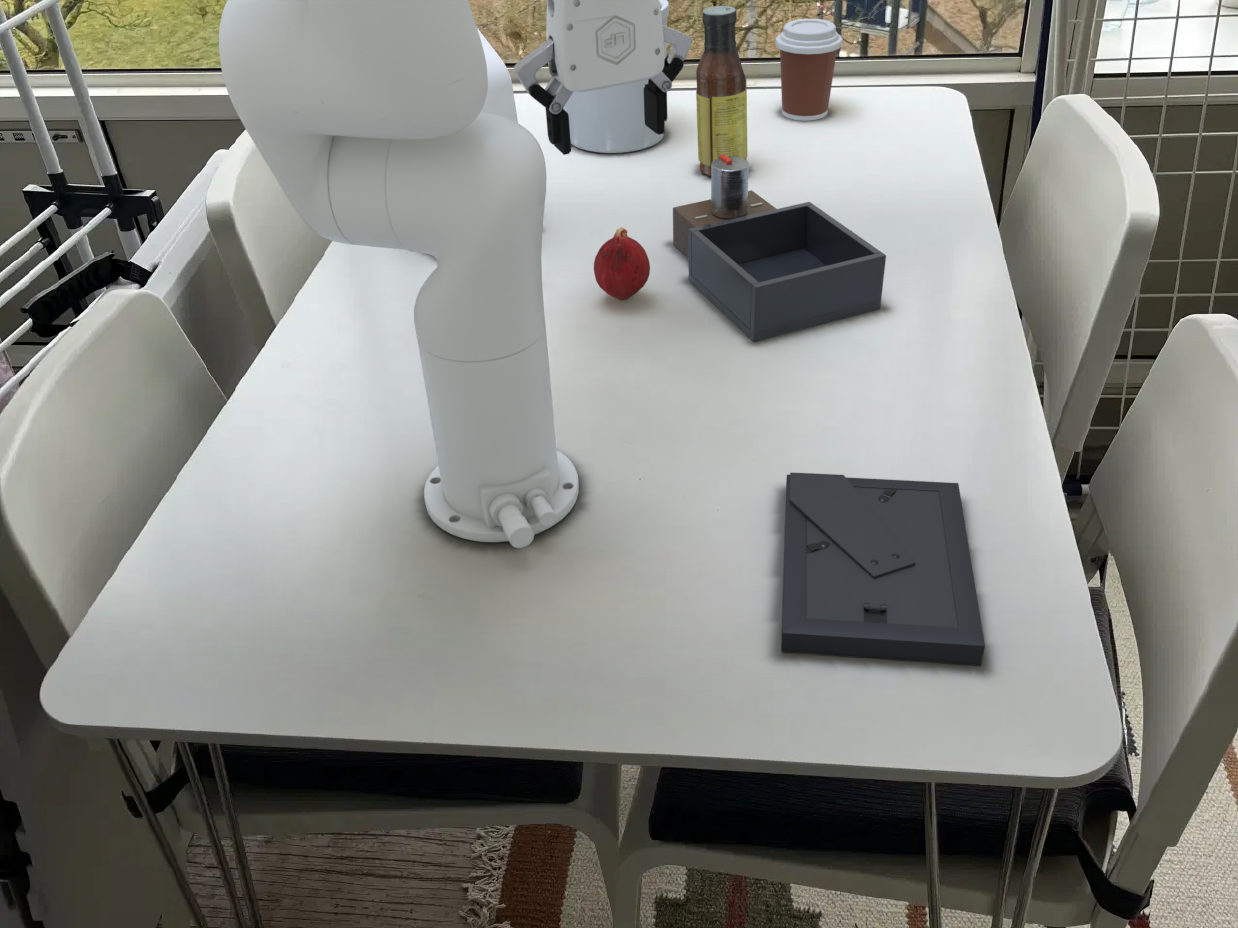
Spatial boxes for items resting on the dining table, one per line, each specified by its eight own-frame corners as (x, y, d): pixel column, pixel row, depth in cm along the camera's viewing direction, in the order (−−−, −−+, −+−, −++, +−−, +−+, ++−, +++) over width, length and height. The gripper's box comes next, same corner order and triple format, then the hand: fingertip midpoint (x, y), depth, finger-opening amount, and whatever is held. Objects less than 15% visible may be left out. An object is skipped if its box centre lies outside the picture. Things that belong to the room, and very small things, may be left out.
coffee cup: (770, 123, 159) (774, 35, 151) (774, 101, 166) (777, 16, 159) (836, 124, 157) (843, 36, 150) (837, 102, 164) (844, 16, 157)
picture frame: (785, 492, 92) (780, 652, 78) (786, 470, 91) (782, 629, 77) (955, 501, 90) (981, 666, 76) (958, 479, 89) (986, 642, 75)
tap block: (785, 254, 126) (787, 215, 123) (705, 273, 123) (705, 234, 120) (750, 226, 132) (751, 188, 130) (672, 244, 129) (672, 205, 127)
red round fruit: (645, 315, 116) (643, 243, 112) (590, 312, 117) (585, 240, 113) (654, 288, 121) (653, 218, 116) (601, 285, 122) (598, 216, 117)
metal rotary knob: (753, 214, 124) (755, 163, 121) (721, 221, 123) (722, 170, 120) (736, 201, 127) (737, 151, 124) (704, 208, 126) (704, 158, 122)
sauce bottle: (755, 166, 147) (760, 6, 135) (732, 183, 142) (735, 19, 131) (710, 157, 149) (711, 0, 138) (687, 174, 145) (686, 13, 133)
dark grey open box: (880, 309, 115) (886, 255, 112) (753, 342, 111) (755, 287, 108) (806, 252, 126) (809, 201, 123) (688, 280, 122) (688, 228, 119)
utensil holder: (604, 110, 166) (598, -17, 155) (690, 128, 158) (690, -4, 148) (541, 143, 156) (530, 10, 146) (630, 163, 149) (625, 25, 139)
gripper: (519, -26, 93) (537, 172, 104) (707, -56, 98) (707, 135, 109) (490, -46, 99) (510, 144, 109) (670, -74, 104) (673, 110, 114)
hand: (608, 139), depth 109 cm, fingers open, 9 cm apart
